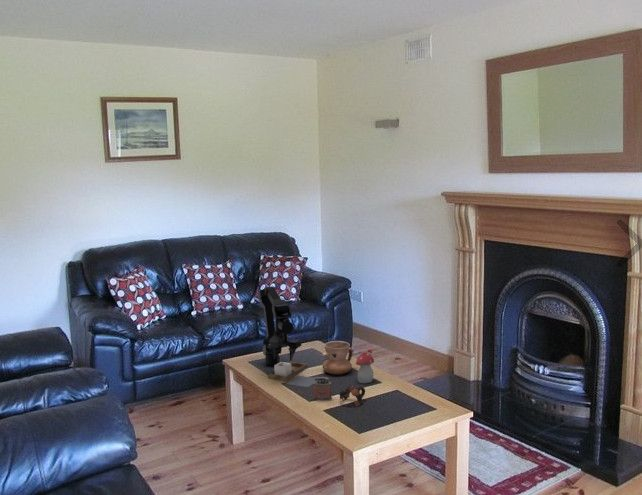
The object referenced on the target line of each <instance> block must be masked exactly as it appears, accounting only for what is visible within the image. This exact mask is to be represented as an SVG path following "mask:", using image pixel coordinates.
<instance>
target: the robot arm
mask: <svg viewBox="0 0 642 495" xmlns="http://www.w3.org/2000/svg"><path fill="white" fill-rule="evenodd" d="M257 299H258V300H259V303H260V305H261V306H262V307H263V313H264V314H263V315H264V320H265V321H264V322H265V323H264V324H265V330H266V337H264V338H263V340H262V345H263V346H262V354H263V356H264V358H265V364H263V366H264V367H270V368H274V365H276V364H278V363H279V362H281V358H280V355H281V354H282V347H283V346H288V351H289V362H293V358H294V355H295V353H296V351H297V349H298V348H300V347H302V345H303V344H302V341H301V340H300V339H292V340H290V337H289V334H290V333H292V332H293V330H294V324H293V323H292V322H291V321H290V319H291V318H292V310H291V308H290V305H289V304H288V302H287V301H286V300H284V299H282V298H281V297H280V295H279V293H278V292H277V289H276V287H275V286H273V285H272V286H266V287H264V288H263V289H260V290H259V291H258V292H257Z"/></svg>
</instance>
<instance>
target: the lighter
mask: <svg viewBox="0 0 642 495" xmlns="http://www.w3.org/2000/svg"><path fill="white" fill-rule="evenodd" d="M314 378H315V381H316V382H313V384H312V385H313V400H314V401H321V402H323V401H324V402H325V401H331V400H333V398H332V397H333V396H332V382H331V381H330V380H329V377H325V376H321V377H320V376H315V377H314Z"/></svg>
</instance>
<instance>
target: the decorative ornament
mask: <svg viewBox="0 0 642 495" xmlns="http://www.w3.org/2000/svg"><path fill="white" fill-rule="evenodd" d="M372 353H373V350H372V349H367V352H363V353H361V354H360V355H358V357H357V358H356V361H355V364H356V365H357V366H360V367H359V369H358V370H357V376H356V380H357V383H358V384H365V385H366V384H369V383H372V382H373V380H374V379H373V378H374V370H373V368H372V366H371V365H372V364H373V363H375V360H374V357H373V355H372Z"/></svg>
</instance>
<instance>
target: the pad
mask: <svg viewBox="0 0 642 495" xmlns="http://www.w3.org/2000/svg"><path fill="white" fill-rule="evenodd" d="M313 382H317V381H315V377H311V376H305V375H299V374H298V375H296V376H295V377H293V378H292V379H290V380H289V381H286V382H285V384H286V385H292V386H298V387H304V388H310V387H311V386H312V385H313Z"/></svg>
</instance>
